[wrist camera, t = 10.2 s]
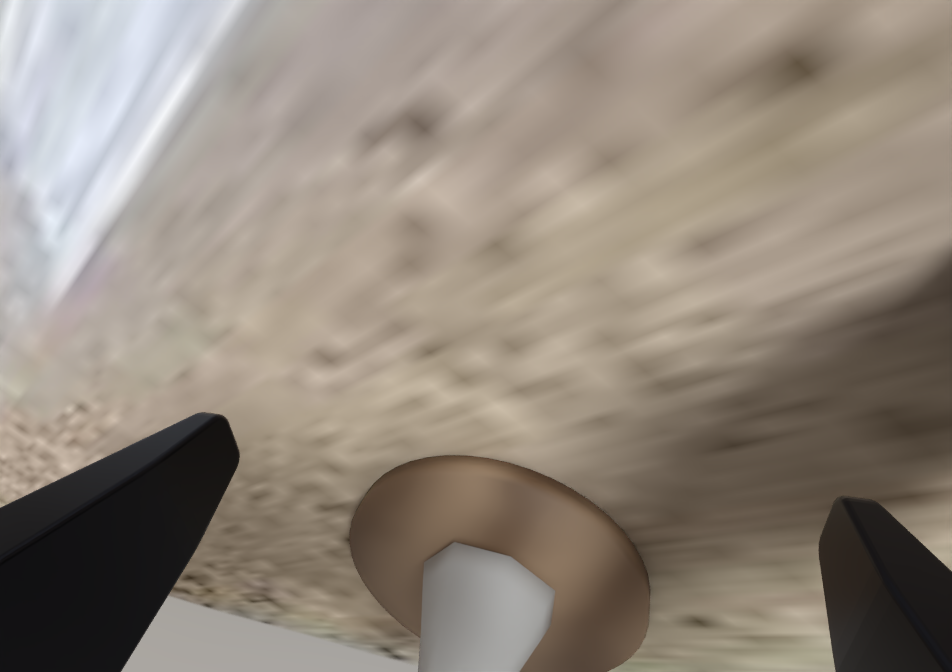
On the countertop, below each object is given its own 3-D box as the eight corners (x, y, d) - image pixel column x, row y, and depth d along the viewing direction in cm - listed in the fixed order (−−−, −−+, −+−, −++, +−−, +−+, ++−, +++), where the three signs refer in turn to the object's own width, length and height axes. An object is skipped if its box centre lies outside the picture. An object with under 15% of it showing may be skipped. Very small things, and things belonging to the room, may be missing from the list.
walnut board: (687, 510, 25) (688, 532, 24) (615, 692, 34) (613, 713, 33) (351, 420, 28) (339, 437, 27) (365, 607, 37) (357, 624, 36)
